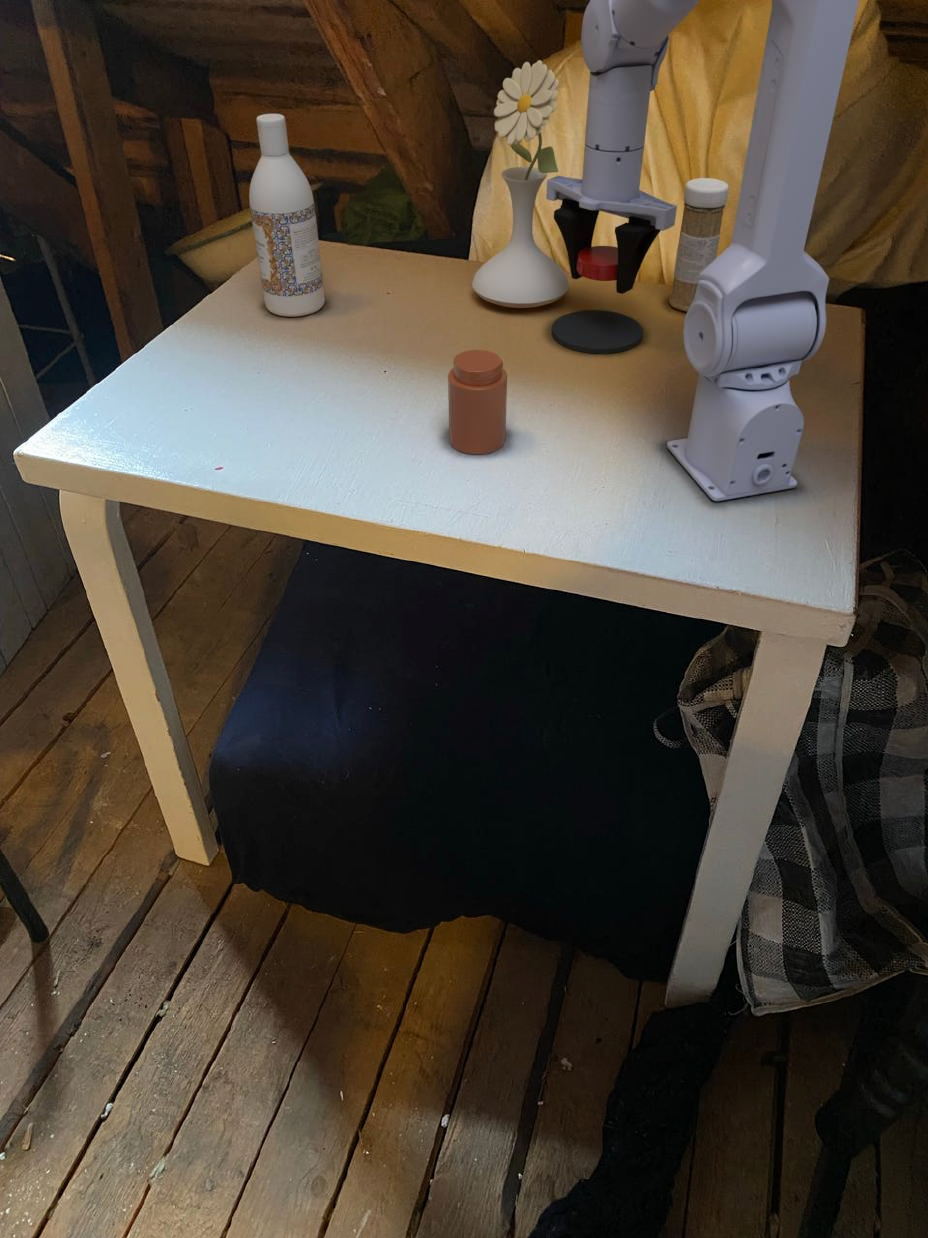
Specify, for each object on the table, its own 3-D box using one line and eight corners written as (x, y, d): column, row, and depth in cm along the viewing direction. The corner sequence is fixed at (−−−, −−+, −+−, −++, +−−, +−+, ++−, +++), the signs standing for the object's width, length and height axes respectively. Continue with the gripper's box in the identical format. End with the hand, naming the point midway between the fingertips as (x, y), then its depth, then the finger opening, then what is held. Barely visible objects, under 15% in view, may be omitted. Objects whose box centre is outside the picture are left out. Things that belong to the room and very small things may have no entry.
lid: (601, 256, 100) (602, 241, 99) (641, 271, 97) (643, 255, 96) (565, 270, 97) (566, 254, 96) (605, 285, 94) (606, 269, 93)
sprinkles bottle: (686, 294, 110) (704, 173, 101) (716, 306, 107) (738, 183, 98) (660, 304, 107) (677, 181, 98) (690, 317, 105) (710, 192, 96)
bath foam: (257, 301, 109) (227, 113, 96) (312, 289, 111) (290, 105, 98) (277, 322, 104) (248, 128, 91) (334, 310, 107) (314, 119, 93)
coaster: (657, 347, 99) (658, 341, 99) (570, 359, 97) (570, 353, 97) (621, 310, 106) (621, 305, 106) (539, 320, 104) (539, 315, 104)
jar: (513, 449, 84) (515, 369, 78) (458, 458, 83) (457, 377, 77) (495, 422, 87) (496, 343, 82) (442, 430, 86) (440, 351, 81)
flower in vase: (460, 285, 112) (457, 47, 95) (547, 273, 114) (559, 39, 98) (494, 329, 103) (498, 73, 86) (588, 315, 105) (610, 65, 89)
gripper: (530, 138, 90) (524, 276, 99) (654, 167, 83) (636, 313, 92) (573, 124, 94) (564, 258, 103) (696, 151, 87) (675, 292, 96)
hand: (601, 283), depth 98 cm, fingers closed on lid, 5 cm apart
